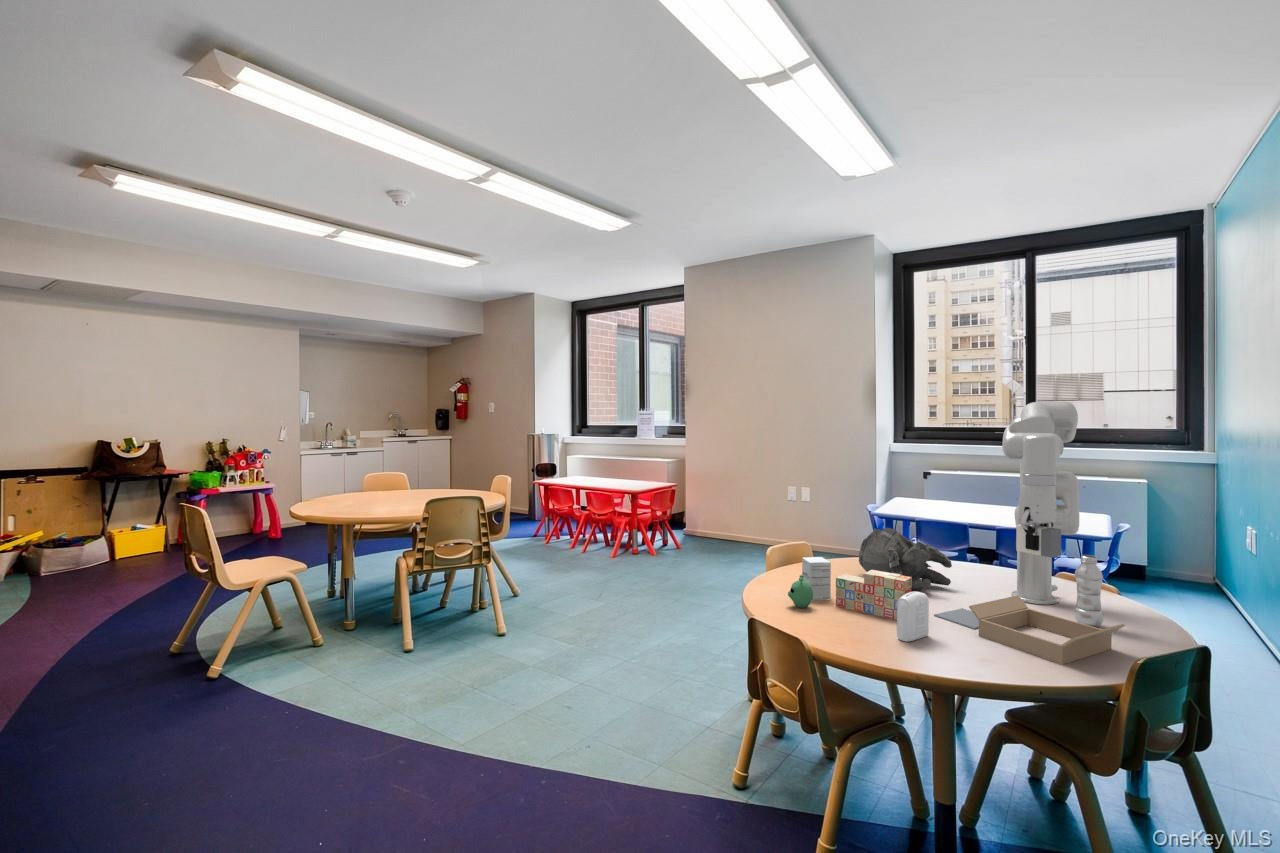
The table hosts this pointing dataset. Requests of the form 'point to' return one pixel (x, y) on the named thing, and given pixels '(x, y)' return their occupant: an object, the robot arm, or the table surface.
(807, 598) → the alien toy
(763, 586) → the table surface
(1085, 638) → the carton
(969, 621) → the mat
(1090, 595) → the plastic bottle
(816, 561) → the supplement box
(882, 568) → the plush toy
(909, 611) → the photo printer
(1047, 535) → the box
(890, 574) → the stack of blocks
